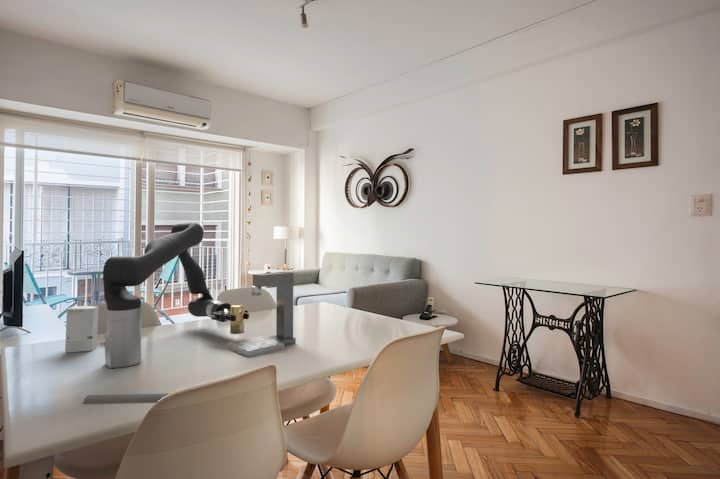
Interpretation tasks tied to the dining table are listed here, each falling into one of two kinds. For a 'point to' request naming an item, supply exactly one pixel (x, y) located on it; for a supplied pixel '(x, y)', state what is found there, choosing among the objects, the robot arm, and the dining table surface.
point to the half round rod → (123, 398)
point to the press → (282, 316)
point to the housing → (237, 319)
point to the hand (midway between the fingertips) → (240, 317)
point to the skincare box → (81, 328)
